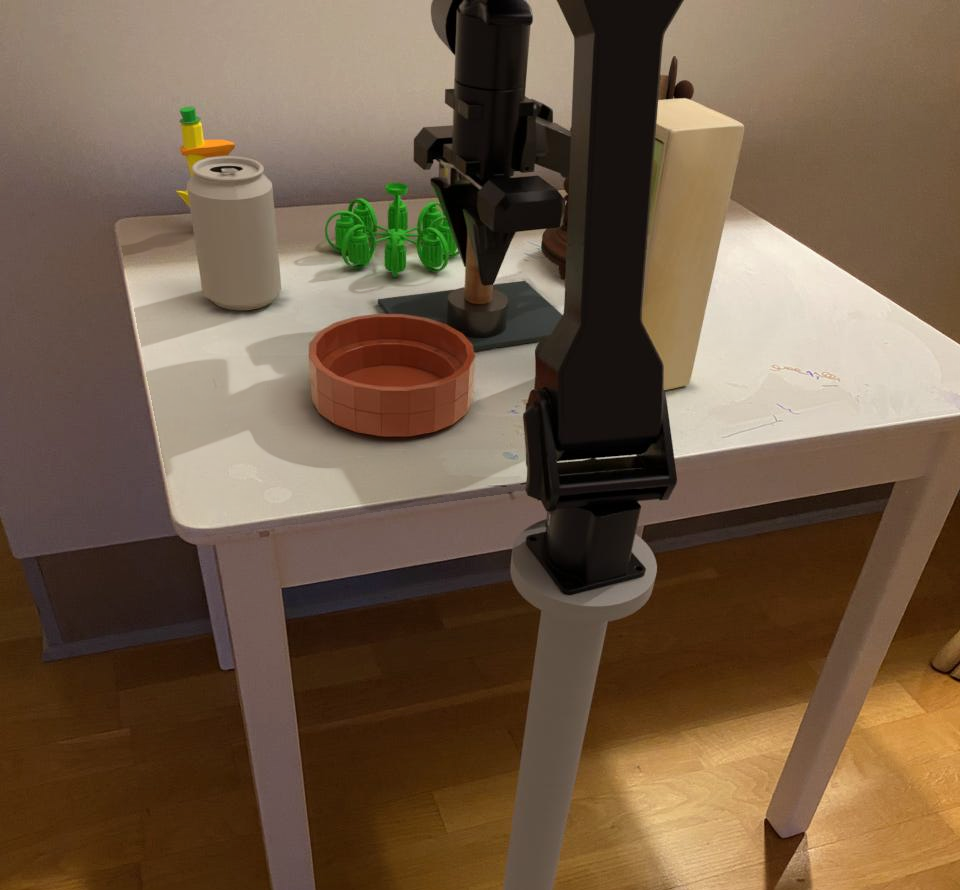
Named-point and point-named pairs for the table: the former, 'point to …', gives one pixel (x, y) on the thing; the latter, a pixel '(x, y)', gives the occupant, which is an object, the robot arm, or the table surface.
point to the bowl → (391, 374)
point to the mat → (524, 313)
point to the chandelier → (393, 234)
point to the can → (235, 232)
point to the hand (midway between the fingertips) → (478, 275)
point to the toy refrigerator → (686, 226)
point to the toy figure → (198, 143)
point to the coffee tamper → (476, 304)
